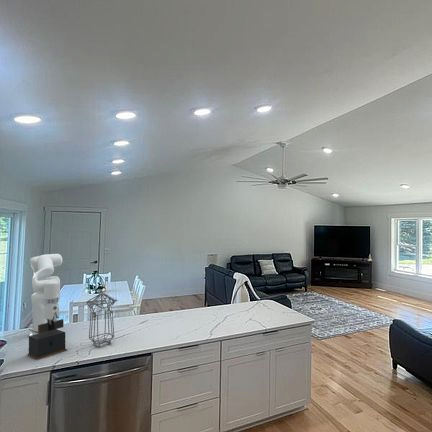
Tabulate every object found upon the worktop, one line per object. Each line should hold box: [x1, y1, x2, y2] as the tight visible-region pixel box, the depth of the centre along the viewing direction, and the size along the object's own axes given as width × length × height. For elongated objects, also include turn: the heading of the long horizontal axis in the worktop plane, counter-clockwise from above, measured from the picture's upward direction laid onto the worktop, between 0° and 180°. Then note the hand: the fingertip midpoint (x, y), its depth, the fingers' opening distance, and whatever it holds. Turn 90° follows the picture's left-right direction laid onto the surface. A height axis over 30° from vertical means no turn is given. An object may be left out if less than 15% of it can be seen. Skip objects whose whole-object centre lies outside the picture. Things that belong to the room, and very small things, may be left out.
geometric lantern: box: [85, 292, 119, 348], centre depth 226 cm, size 16×16×35 cm
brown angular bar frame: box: [28, 318, 64, 334], centre depth 213 cm, size 13×14×5 cm
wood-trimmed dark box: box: [27, 329, 67, 360], centre depth 212 cm, size 14×16×12 cm
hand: (51, 329), depth 210 cm, fingers closed on brown angular bar frame, 1 cm apart
